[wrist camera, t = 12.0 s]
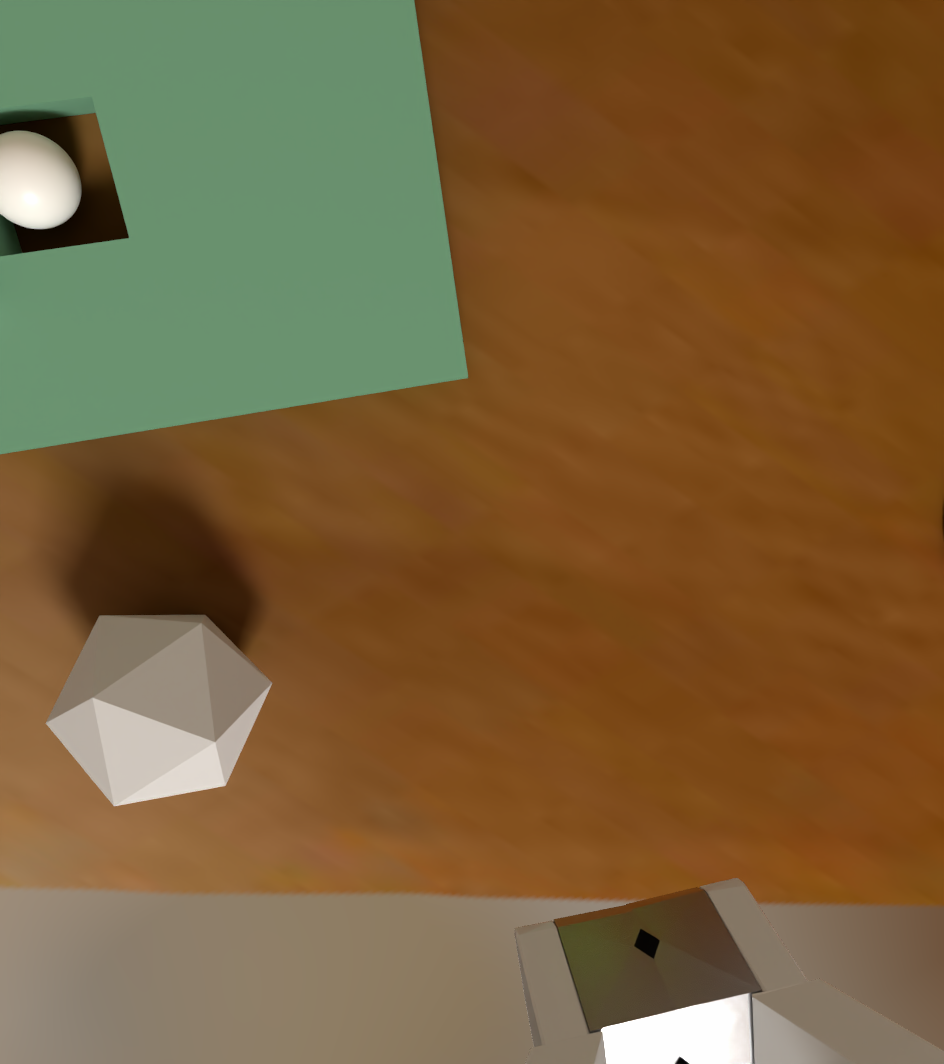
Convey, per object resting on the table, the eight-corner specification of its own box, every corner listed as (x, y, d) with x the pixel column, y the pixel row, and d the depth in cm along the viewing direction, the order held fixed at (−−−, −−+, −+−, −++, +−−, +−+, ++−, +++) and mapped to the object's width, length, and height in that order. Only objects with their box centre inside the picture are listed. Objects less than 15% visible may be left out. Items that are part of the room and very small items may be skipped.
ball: (53, 116, 28) (-51, 127, 28) (81, 218, 30) (-18, 231, 29) (76, 135, 32) (-16, 145, 31) (100, 226, 33) (12, 238, 32)
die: (84, 577, 38) (-32, 765, 32) (215, 549, 34) (111, 758, 28) (196, 665, 43) (115, 842, 37) (321, 650, 39) (253, 844, 33)
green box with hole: (385, -147, 30) (390, -237, 25) (461, 371, 36) (477, 386, 31) (-157, -91, 28) (-273, -175, 23) (21, 443, 35) (-39, 471, 30)
